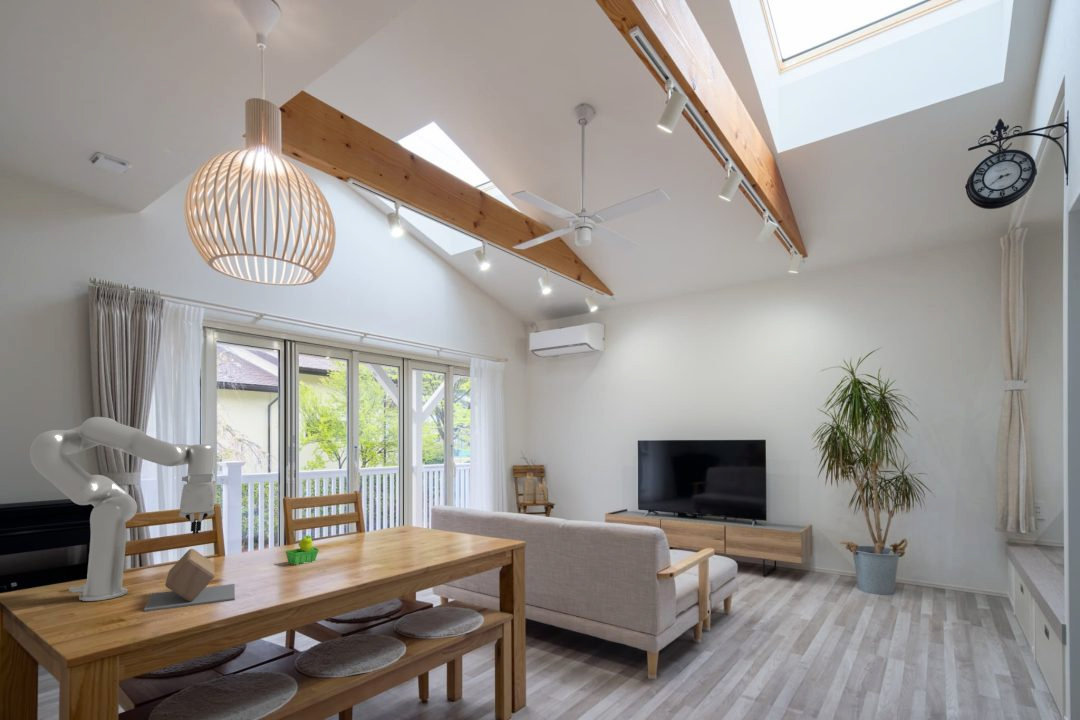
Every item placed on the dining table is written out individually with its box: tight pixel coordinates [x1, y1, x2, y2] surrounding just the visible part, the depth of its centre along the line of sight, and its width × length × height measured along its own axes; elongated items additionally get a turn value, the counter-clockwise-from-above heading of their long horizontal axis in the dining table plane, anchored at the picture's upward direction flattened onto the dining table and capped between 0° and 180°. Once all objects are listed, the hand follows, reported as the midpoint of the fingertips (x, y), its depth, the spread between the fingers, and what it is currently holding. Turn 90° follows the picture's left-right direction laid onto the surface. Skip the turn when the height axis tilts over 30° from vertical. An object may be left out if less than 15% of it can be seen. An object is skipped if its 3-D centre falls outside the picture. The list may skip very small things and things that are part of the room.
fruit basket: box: [285, 534, 320, 566], centre depth 233 cm, size 11×9×11 cm
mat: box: [143, 583, 236, 612], centre depth 183 cm, size 24×20×1 cm
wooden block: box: [164, 548, 216, 602], centre depth 184 cm, size 10×10×20 cm
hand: (195, 533), depth 196 cm, fingers closed
